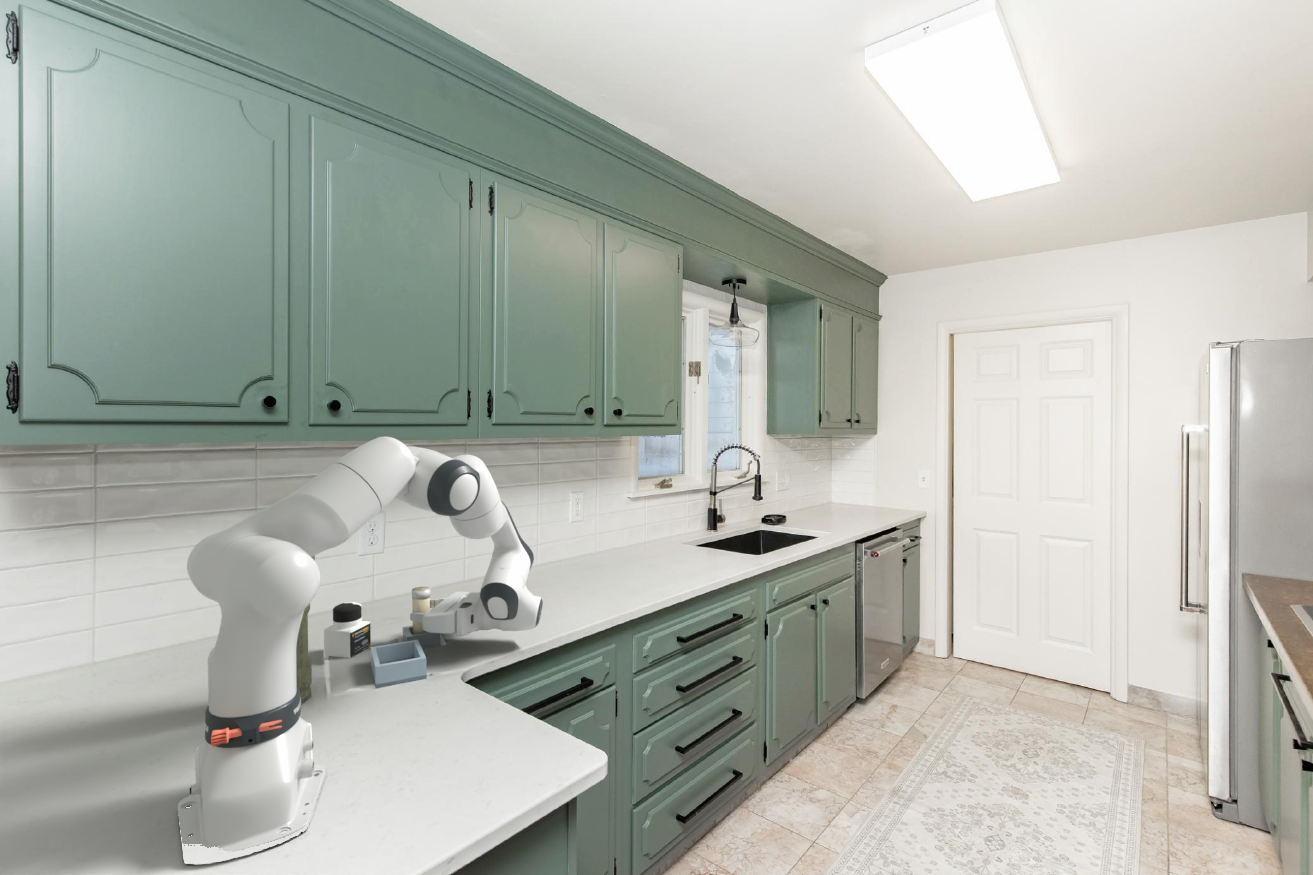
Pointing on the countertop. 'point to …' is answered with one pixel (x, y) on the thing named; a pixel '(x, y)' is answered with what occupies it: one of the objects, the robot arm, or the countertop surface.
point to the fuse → (420, 605)
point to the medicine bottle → (347, 632)
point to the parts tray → (397, 663)
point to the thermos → (303, 658)
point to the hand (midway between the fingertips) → (419, 609)
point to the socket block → (422, 638)
